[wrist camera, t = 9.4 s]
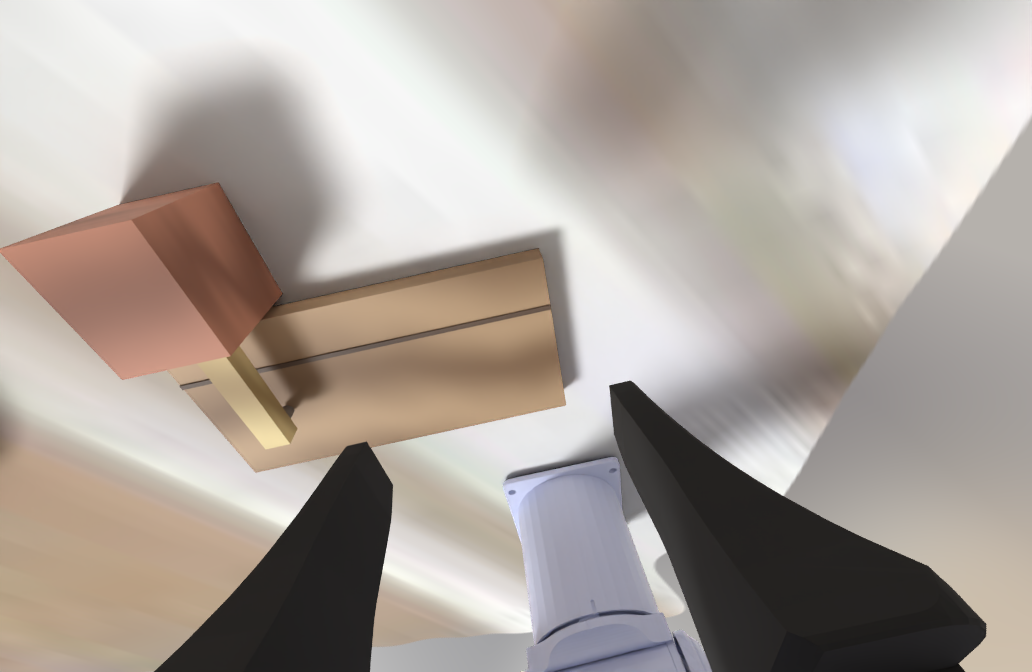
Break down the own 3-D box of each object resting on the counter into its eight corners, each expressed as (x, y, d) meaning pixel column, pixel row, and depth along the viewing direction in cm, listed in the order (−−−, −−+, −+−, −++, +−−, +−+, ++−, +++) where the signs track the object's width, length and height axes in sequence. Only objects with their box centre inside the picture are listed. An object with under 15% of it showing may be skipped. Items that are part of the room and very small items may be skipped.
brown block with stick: (338, 389, 22) (309, 463, 18) (266, 405, 22) (220, 482, 18) (218, 182, 16) (131, 220, 12) (120, 204, 16) (-3, 250, 12)
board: (561, 391, 24) (566, 406, 22) (264, 455, 24) (255, 473, 23) (538, 248, 19) (543, 258, 18) (162, 331, 19) (144, 346, 18)
